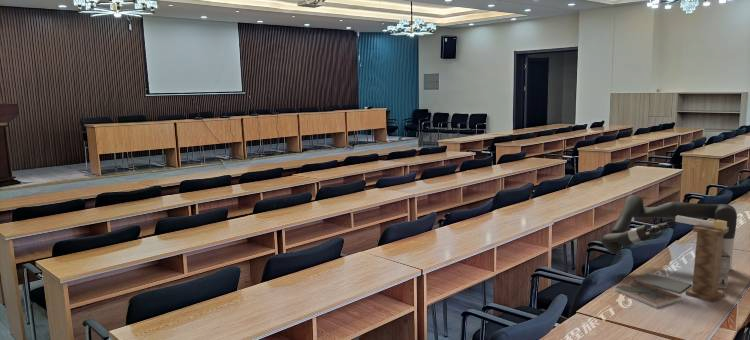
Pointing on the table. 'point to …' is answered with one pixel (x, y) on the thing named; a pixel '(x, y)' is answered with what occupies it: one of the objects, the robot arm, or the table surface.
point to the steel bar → (702, 222)
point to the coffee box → (724, 270)
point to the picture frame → (648, 293)
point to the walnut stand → (707, 263)
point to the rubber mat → (663, 282)
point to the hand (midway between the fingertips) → (671, 224)
